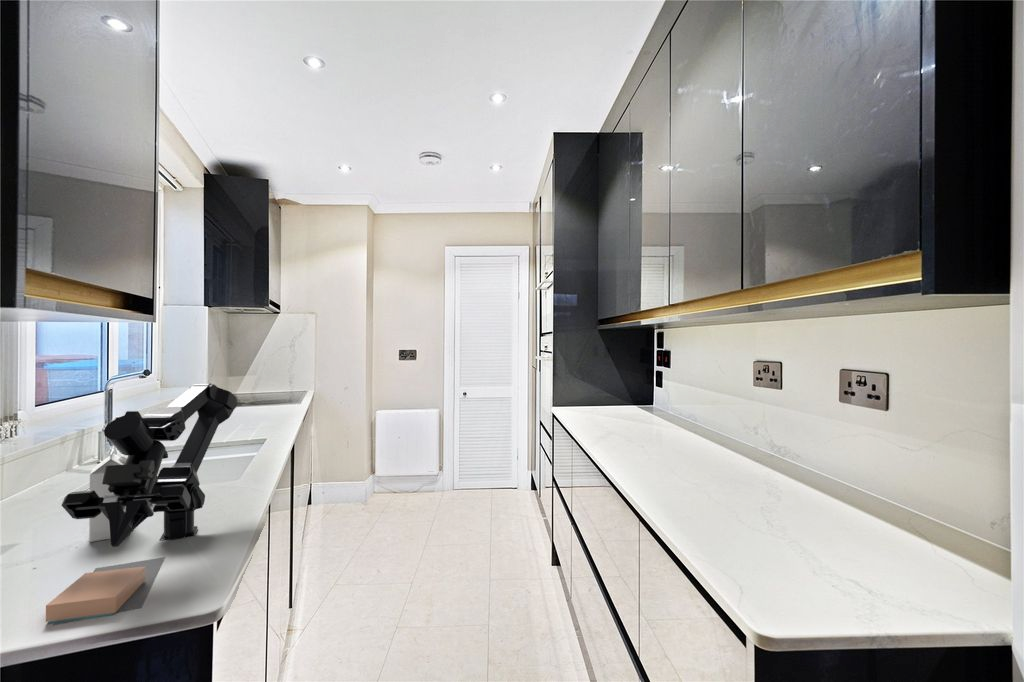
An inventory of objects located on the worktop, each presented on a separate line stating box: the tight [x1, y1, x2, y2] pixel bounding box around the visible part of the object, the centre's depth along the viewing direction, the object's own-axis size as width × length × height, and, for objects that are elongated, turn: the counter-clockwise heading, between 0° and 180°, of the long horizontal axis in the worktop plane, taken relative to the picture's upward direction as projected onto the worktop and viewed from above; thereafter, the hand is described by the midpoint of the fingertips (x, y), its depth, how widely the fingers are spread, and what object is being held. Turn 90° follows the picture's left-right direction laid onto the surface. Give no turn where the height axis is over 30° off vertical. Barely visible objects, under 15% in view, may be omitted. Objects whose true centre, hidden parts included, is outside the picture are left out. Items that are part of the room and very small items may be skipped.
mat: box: [52, 556, 166, 626], centre depth 86 cm, size 21×11×1 cm, turn 27°
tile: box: [45, 566, 146, 624], centre depth 81 cm, size 3×9×11 cm
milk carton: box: [88, 448, 131, 543], centre depth 111 cm, size 7×7×19 cm
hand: (114, 545), depth 86 cm, fingers closed
